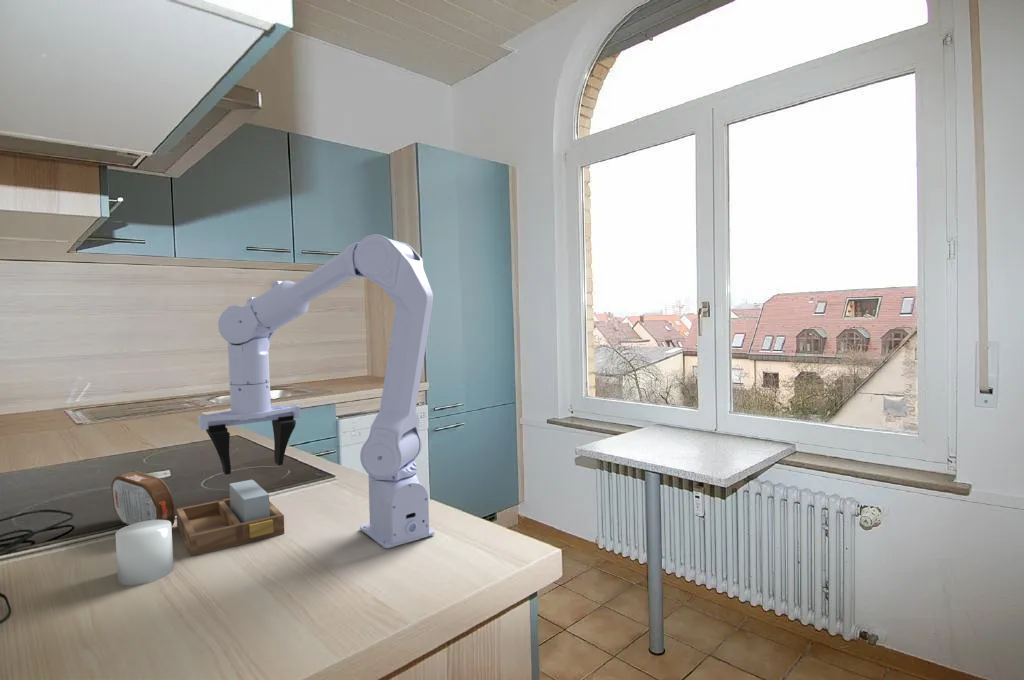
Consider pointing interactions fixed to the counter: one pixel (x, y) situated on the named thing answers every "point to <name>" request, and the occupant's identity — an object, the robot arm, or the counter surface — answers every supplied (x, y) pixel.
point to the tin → (142, 498)
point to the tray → (223, 526)
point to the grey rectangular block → (248, 501)
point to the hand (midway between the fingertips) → (253, 468)
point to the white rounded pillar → (144, 552)
